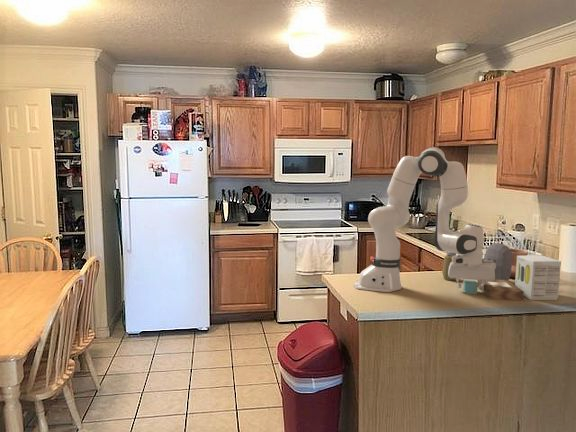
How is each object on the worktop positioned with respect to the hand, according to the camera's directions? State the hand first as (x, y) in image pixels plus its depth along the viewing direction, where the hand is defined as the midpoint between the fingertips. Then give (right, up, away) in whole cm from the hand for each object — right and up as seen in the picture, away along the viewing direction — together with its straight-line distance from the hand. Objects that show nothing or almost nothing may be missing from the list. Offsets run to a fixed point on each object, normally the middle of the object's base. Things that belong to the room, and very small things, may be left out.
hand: (470, 288), depth 219 cm
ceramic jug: (+35, +1, +32) cm, 48 cm away
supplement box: (+28, -3, -4) cm, 29 cm away
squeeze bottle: (-1, +1, +24) cm, 24 cm away
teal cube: (0, -2, 0) cm, 2 cm away
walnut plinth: (+13, -2, -1) cm, 13 cm away
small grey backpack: (+20, 0, +20) cm, 29 cm away
